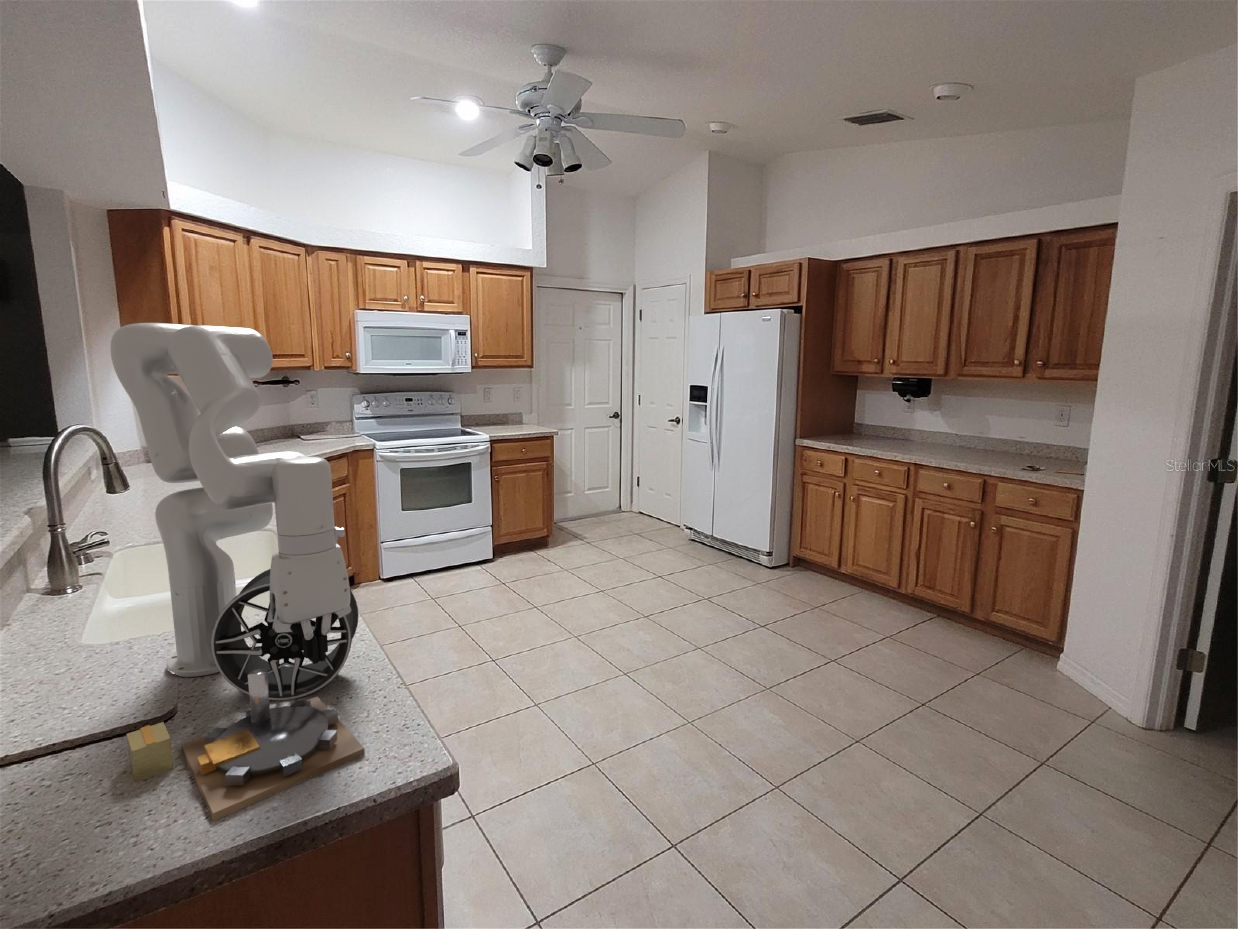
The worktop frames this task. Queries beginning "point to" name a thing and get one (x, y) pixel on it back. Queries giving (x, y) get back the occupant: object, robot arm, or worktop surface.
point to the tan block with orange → (149, 751)
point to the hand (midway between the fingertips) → (316, 659)
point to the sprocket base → (260, 787)
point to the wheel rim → (275, 648)
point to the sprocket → (267, 737)
